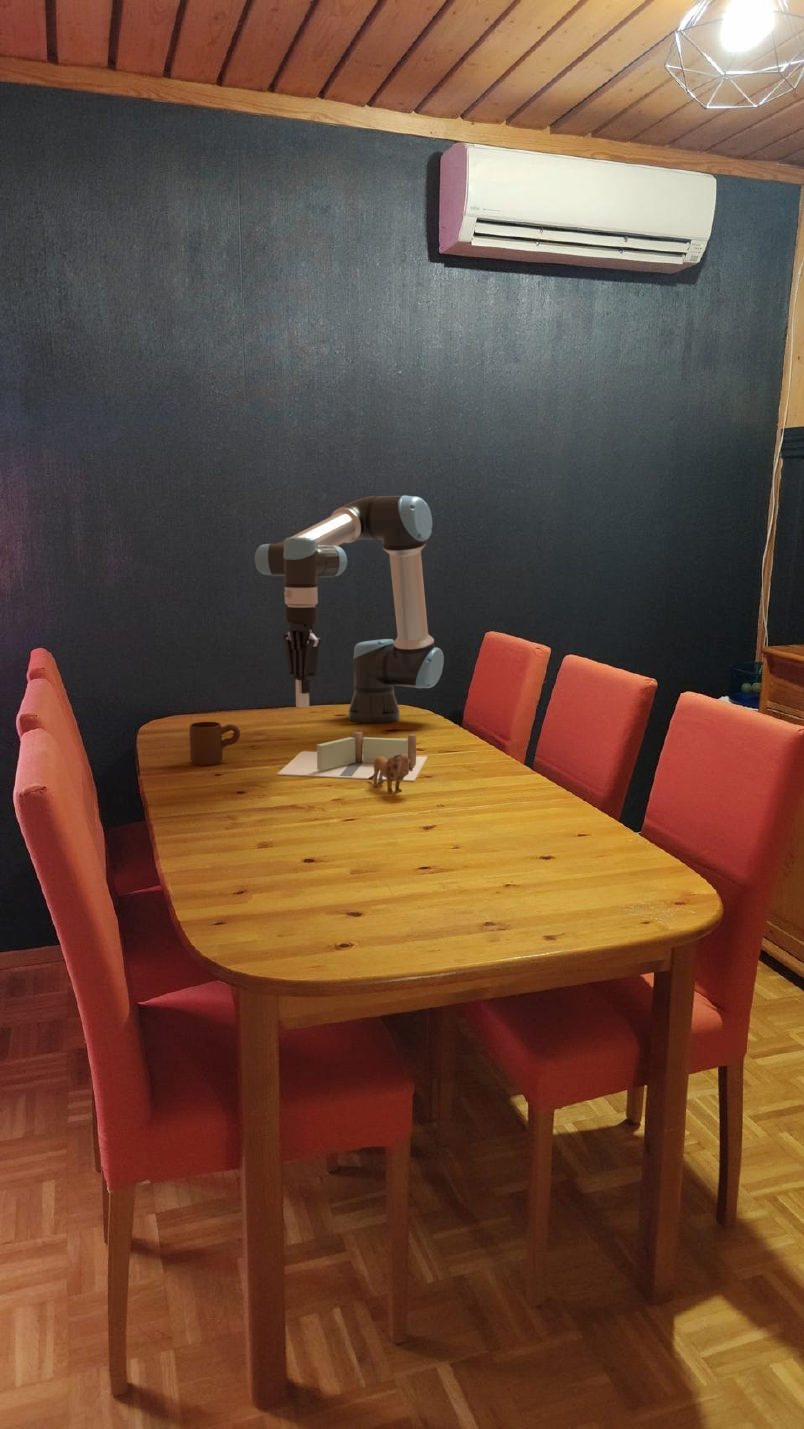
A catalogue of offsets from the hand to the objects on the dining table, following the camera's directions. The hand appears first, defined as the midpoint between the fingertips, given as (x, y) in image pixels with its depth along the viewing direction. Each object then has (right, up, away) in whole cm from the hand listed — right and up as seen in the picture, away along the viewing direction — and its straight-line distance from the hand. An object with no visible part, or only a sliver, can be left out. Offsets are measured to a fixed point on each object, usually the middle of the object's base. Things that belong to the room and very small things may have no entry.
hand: (302, 706), depth 225 cm
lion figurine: (+21, -19, -15) cm, 31 cm away
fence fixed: (+19, -14, +6) cm, 24 cm away
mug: (-22, -14, +8) cm, 27 cm away
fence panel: (+8, -14, +2) cm, 16 cm away
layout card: (+12, -14, +4) cm, 19 cm away
